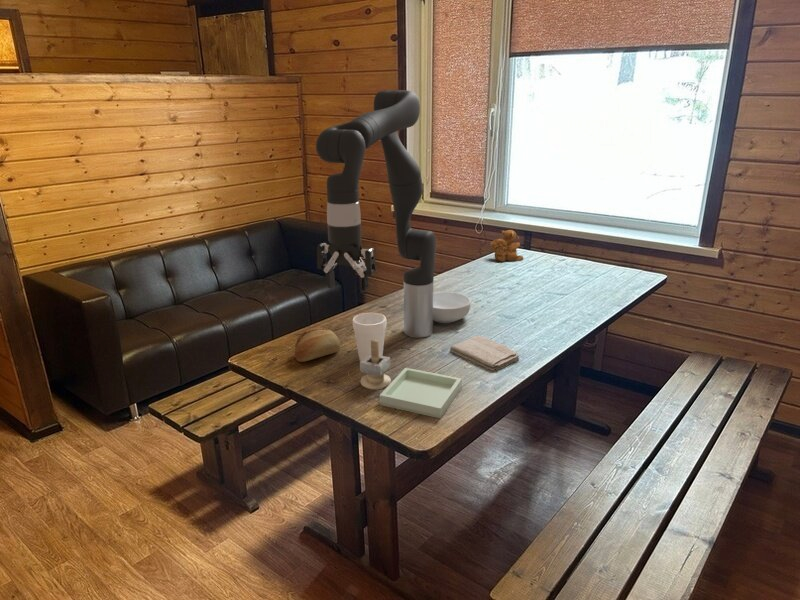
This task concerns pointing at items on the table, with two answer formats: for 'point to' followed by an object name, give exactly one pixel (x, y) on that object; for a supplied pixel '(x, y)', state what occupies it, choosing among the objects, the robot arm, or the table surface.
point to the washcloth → (485, 352)
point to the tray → (421, 392)
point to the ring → (375, 365)
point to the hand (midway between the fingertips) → (347, 289)
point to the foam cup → (369, 332)
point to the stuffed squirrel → (506, 247)
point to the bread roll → (316, 344)
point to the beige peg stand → (371, 379)
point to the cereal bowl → (449, 306)
